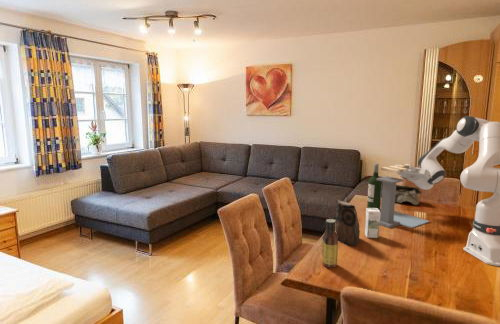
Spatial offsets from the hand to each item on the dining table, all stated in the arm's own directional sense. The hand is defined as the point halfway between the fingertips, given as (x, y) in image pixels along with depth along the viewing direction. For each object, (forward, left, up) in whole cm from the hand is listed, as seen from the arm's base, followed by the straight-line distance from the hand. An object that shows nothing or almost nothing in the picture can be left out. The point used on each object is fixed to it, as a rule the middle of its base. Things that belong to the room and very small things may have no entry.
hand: (405, 165), depth 191 cm
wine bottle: (+16, +12, -32) cm, 38 cm away
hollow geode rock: (+37, -9, -32) cm, 50 cm away
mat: (-1, 0, -32) cm, 32 cm away
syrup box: (-30, +24, -32) cm, 50 cm away
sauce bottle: (-64, +49, -32) cm, 87 cm away
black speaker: (-37, +36, -32) cm, 61 cm away
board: (-4, +5, -1) cm, 6 cm away
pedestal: (-10, +11, -32) cm, 35 cm away
